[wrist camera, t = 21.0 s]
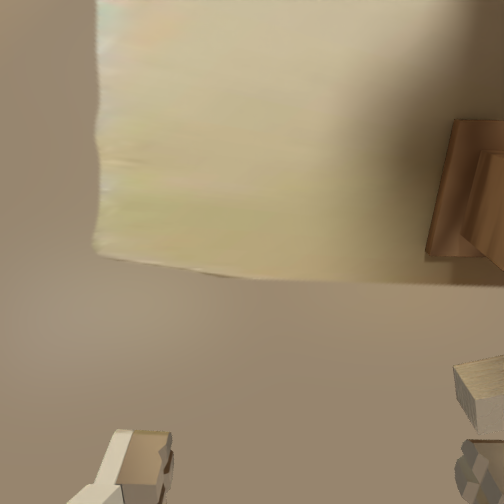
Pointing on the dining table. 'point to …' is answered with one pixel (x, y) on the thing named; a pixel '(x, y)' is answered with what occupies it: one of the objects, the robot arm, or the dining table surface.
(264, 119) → the dining table surface
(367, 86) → the dining table surface
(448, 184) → the scale stand
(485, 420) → the grey and tan bar
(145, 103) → the dining table surface
